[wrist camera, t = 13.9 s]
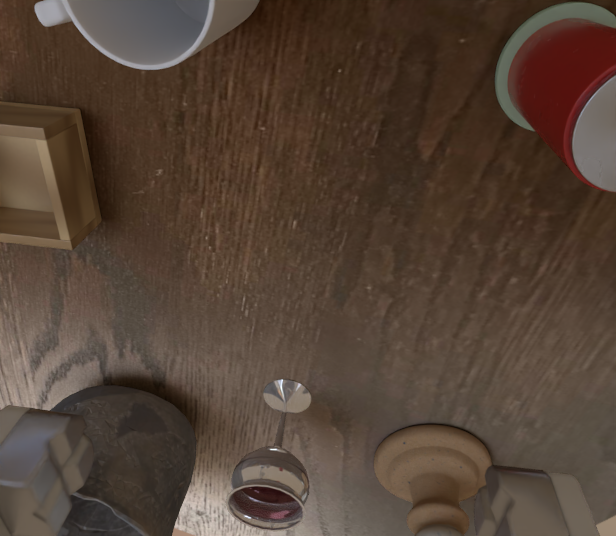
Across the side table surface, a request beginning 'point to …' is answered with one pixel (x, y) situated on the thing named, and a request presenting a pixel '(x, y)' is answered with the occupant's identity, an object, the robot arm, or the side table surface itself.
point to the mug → (148, 26)
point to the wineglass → (272, 471)
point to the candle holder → (433, 475)
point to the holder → (45, 177)
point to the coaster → (526, 31)
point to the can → (571, 95)
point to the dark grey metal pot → (130, 463)
